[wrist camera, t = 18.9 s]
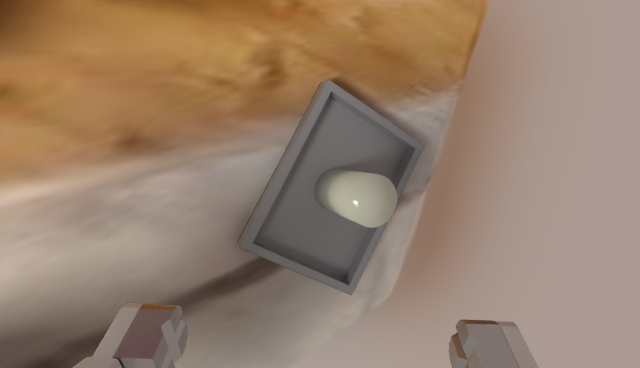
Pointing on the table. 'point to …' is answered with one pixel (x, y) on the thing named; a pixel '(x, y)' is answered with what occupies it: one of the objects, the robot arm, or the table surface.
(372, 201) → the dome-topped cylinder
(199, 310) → the table surface
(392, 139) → the grey tray
